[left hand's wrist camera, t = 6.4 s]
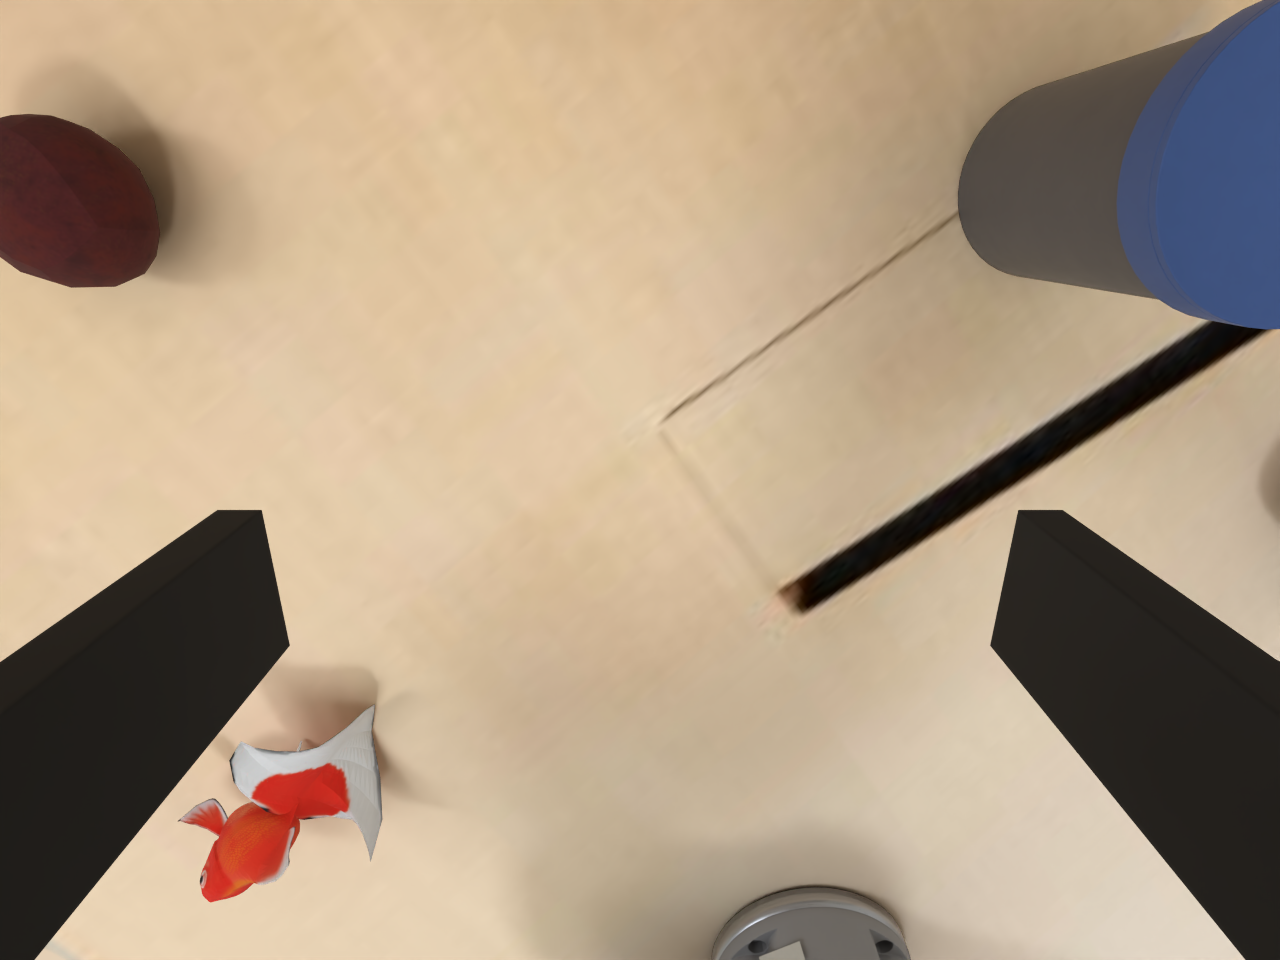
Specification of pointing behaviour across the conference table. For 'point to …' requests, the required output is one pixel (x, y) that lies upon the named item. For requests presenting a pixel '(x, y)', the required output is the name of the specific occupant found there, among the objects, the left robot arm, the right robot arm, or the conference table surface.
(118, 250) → the potato
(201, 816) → the fish
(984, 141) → the jar
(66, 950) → the conference table surface
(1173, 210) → the lid
